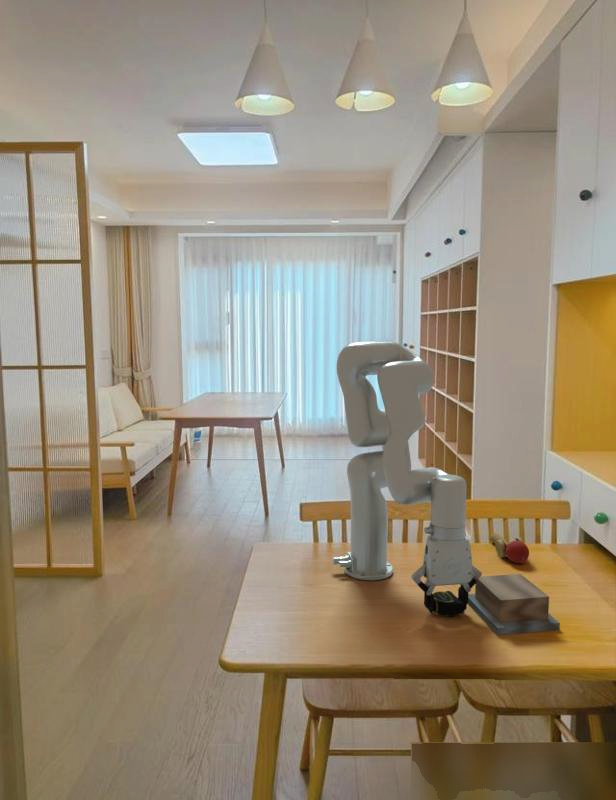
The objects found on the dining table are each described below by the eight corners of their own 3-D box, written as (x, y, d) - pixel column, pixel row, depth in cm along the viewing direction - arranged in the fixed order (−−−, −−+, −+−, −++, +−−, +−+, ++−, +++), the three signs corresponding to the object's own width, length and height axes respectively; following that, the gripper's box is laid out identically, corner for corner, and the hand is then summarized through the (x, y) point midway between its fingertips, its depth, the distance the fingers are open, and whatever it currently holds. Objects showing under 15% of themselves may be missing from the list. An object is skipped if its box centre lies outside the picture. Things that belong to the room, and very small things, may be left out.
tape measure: (466, 617, 129) (466, 601, 129) (437, 621, 127) (437, 604, 127) (451, 604, 136) (452, 588, 135) (424, 607, 134) (424, 591, 134)
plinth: (497, 635, 122) (498, 605, 121) (465, 600, 137) (465, 573, 137) (559, 629, 124) (561, 600, 123) (520, 596, 140) (521, 569, 139)
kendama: (479, 548, 174) (506, 563, 156) (483, 526, 175) (509, 539, 157) (504, 551, 175) (533, 567, 157) (507, 530, 175) (537, 544, 157)
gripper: (415, 539, 124) (414, 619, 126) (492, 534, 127) (490, 613, 129) (404, 528, 131) (403, 603, 133) (477, 523, 134) (475, 598, 136)
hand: (446, 607), depth 131 cm, fingers closed on tape measure, 7 cm apart
